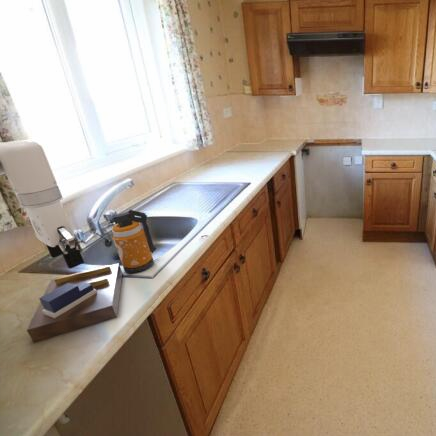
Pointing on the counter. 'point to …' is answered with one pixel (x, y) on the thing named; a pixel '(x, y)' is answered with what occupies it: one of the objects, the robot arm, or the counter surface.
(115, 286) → the brown rectangular slab
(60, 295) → the blue box
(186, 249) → the counter surface
